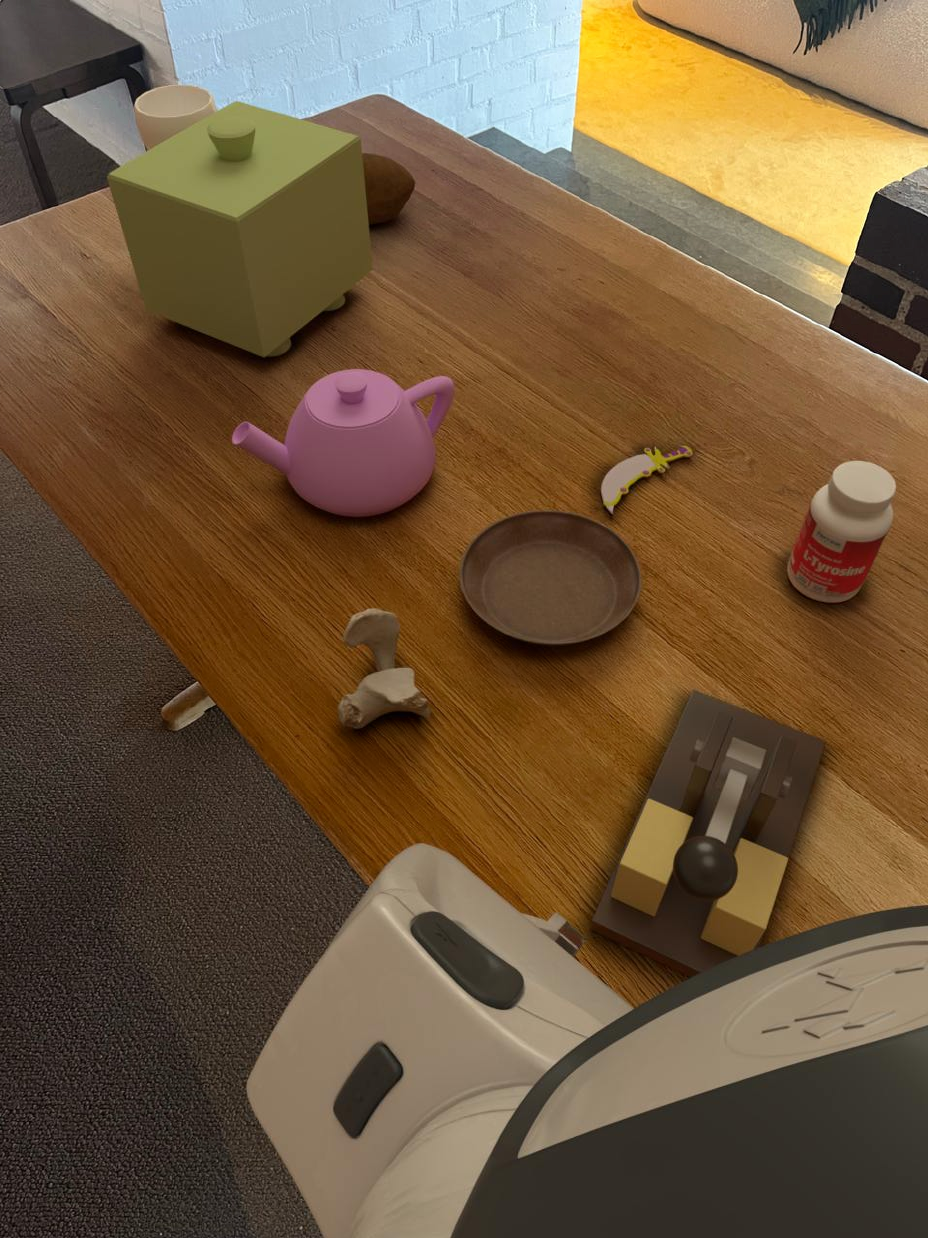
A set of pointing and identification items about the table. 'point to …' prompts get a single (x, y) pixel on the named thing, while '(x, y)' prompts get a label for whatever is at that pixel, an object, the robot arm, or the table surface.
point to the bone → (379, 672)
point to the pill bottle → (842, 532)
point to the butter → (731, 916)
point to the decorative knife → (635, 473)
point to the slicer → (692, 792)
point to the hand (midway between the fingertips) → (666, 1029)
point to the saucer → (550, 577)
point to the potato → (385, 187)
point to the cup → (170, 111)
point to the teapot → (356, 442)
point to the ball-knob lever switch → (719, 828)
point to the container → (246, 224)
